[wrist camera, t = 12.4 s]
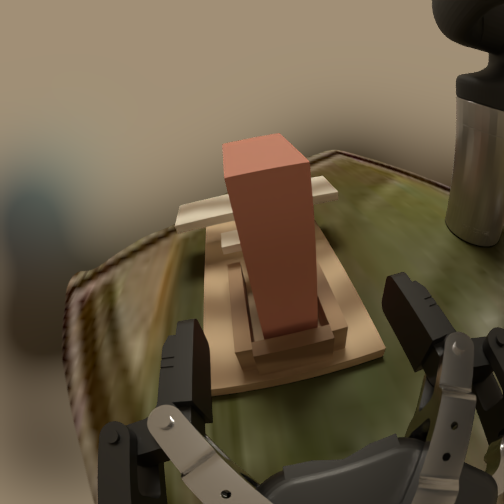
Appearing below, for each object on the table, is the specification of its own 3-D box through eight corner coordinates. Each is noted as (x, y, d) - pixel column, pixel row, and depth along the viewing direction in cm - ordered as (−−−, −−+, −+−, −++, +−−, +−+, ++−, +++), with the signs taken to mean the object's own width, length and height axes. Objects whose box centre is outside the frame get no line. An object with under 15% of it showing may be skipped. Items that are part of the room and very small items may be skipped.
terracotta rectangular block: (256, 290, 26) (222, 144, 18) (297, 281, 26) (279, 133, 18) (267, 351, 20) (224, 178, 12) (317, 340, 20) (309, 161, 12)
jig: (196, 222, 42) (183, 182, 38) (311, 198, 42) (307, 156, 38) (185, 398, 19) (146, 354, 15) (403, 348, 19) (425, 290, 15)
